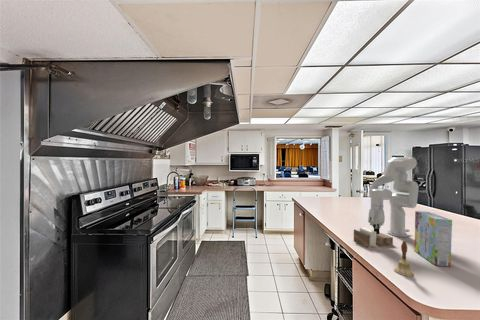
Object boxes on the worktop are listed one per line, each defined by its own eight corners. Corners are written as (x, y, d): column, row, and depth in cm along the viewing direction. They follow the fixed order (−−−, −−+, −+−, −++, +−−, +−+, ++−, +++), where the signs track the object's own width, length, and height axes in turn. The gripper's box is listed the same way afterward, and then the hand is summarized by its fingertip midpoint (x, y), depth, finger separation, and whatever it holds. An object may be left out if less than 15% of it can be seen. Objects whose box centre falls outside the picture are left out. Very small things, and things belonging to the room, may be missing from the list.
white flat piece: (361, 232, 185) (361, 229, 185) (368, 235, 178) (368, 231, 178) (354, 233, 183) (354, 229, 183) (360, 236, 176) (361, 232, 176)
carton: (365, 227, 165) (359, 227, 164) (376, 232, 155) (370, 232, 154) (364, 240, 165) (358, 240, 164) (375, 245, 155) (370, 245, 154)
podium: (377, 238, 170) (377, 227, 170) (393, 245, 158) (393, 233, 158) (353, 240, 165) (353, 229, 165) (367, 247, 152) (368, 235, 152)
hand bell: (418, 276, 115) (418, 244, 115) (402, 276, 115) (402, 244, 114) (404, 268, 123) (405, 238, 123) (390, 268, 123) (390, 238, 123)
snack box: (452, 267, 125) (453, 219, 125) (434, 266, 127) (435, 218, 127) (428, 252, 146) (429, 211, 146) (413, 250, 148) (413, 210, 148)
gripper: (381, 206, 167) (380, 231, 167) (363, 206, 164) (363, 232, 164) (390, 208, 160) (389, 234, 160) (372, 208, 156) (371, 236, 156)
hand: (376, 233), depth 162 cm, fingers closed
